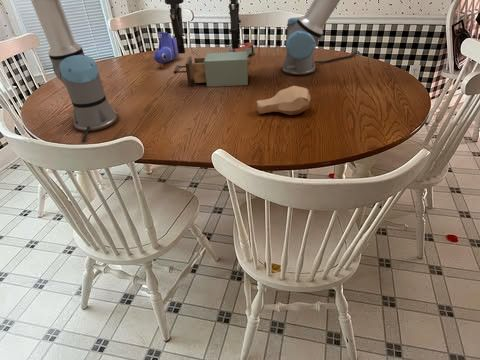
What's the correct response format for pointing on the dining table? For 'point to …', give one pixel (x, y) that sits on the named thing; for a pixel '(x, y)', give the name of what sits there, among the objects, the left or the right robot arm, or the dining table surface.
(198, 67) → the drawer
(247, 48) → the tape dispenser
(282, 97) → the squash
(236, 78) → the pale green box
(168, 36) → the toy
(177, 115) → the dining table surface
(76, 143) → the dining table surface
